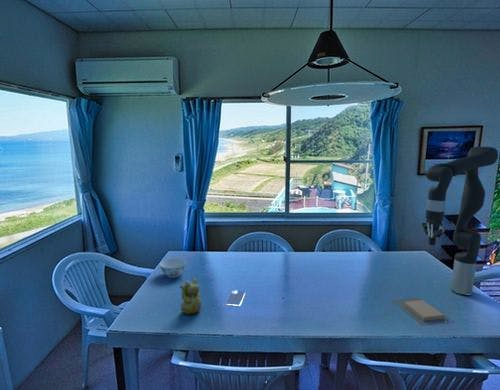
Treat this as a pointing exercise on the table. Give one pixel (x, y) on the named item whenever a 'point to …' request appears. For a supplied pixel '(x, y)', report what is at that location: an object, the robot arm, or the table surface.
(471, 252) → the robot arm
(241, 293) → the mobile phone
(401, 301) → the mat
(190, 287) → the decorative figurine
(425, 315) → the tile
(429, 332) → the table surface
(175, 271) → the chinaware
